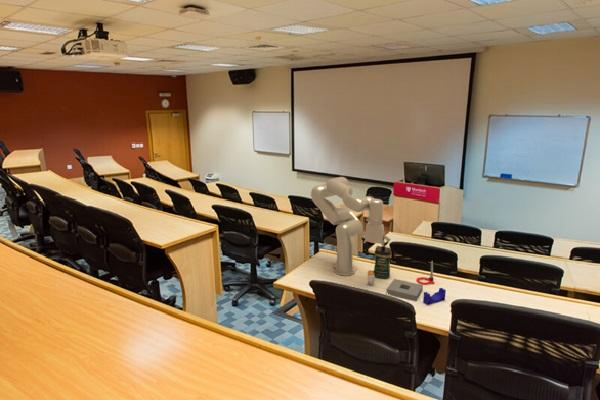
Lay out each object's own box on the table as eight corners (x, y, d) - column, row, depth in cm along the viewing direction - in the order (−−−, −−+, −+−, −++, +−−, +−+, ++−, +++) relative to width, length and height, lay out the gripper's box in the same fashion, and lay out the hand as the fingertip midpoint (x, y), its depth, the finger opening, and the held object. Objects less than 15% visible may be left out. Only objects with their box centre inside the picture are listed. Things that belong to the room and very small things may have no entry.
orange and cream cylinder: (366, 285, 212) (367, 272, 210) (368, 282, 215) (369, 270, 213) (372, 286, 210) (373, 273, 208) (374, 284, 213) (375, 271, 211)
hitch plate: (386, 293, 202) (386, 288, 201) (393, 283, 214) (394, 278, 213) (416, 301, 194) (416, 296, 194) (422, 289, 206) (422, 285, 206)
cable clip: (438, 296, 199) (439, 286, 198) (444, 300, 195) (445, 290, 194) (420, 301, 195) (421, 291, 193) (427, 305, 191) (428, 295, 189)
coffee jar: (372, 277, 222) (373, 248, 217) (375, 272, 229) (376, 243, 224) (388, 280, 218) (390, 250, 213) (391, 274, 225) (392, 245, 220)
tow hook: (418, 285, 212) (435, 285, 212) (418, 264, 209) (435, 264, 209) (414, 279, 220) (430, 278, 220) (415, 258, 217) (431, 258, 217)
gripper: (357, 221, 205) (357, 250, 209) (388, 225, 196) (387, 256, 200) (363, 217, 211) (362, 246, 215) (393, 222, 202) (391, 251, 206)
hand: (374, 251), depth 208 cm, fingers open, 9 cm apart
